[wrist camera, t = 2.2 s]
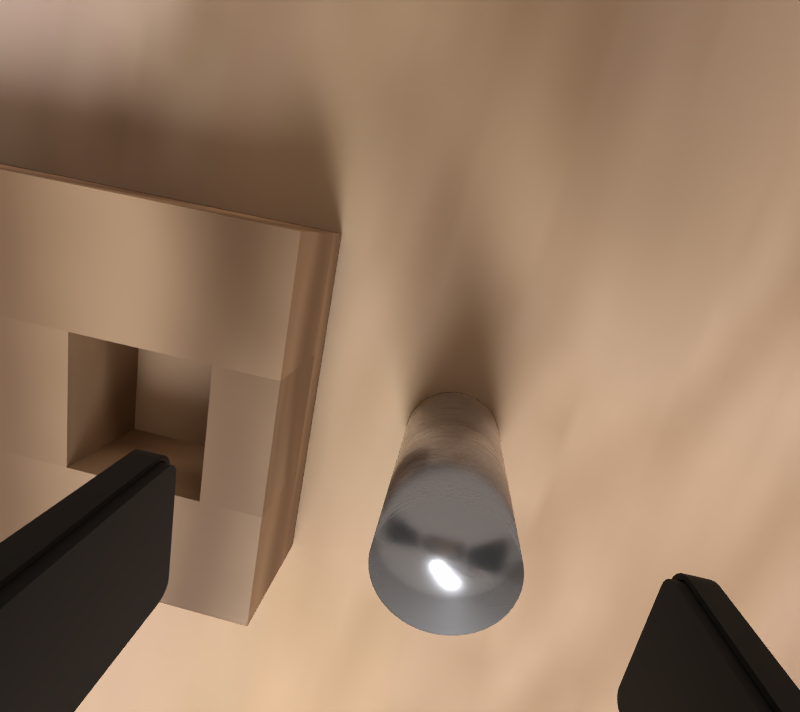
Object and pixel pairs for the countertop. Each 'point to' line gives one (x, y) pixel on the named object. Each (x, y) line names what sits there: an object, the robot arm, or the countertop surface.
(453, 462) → the dowel
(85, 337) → the bore block
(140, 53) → the countertop surface
